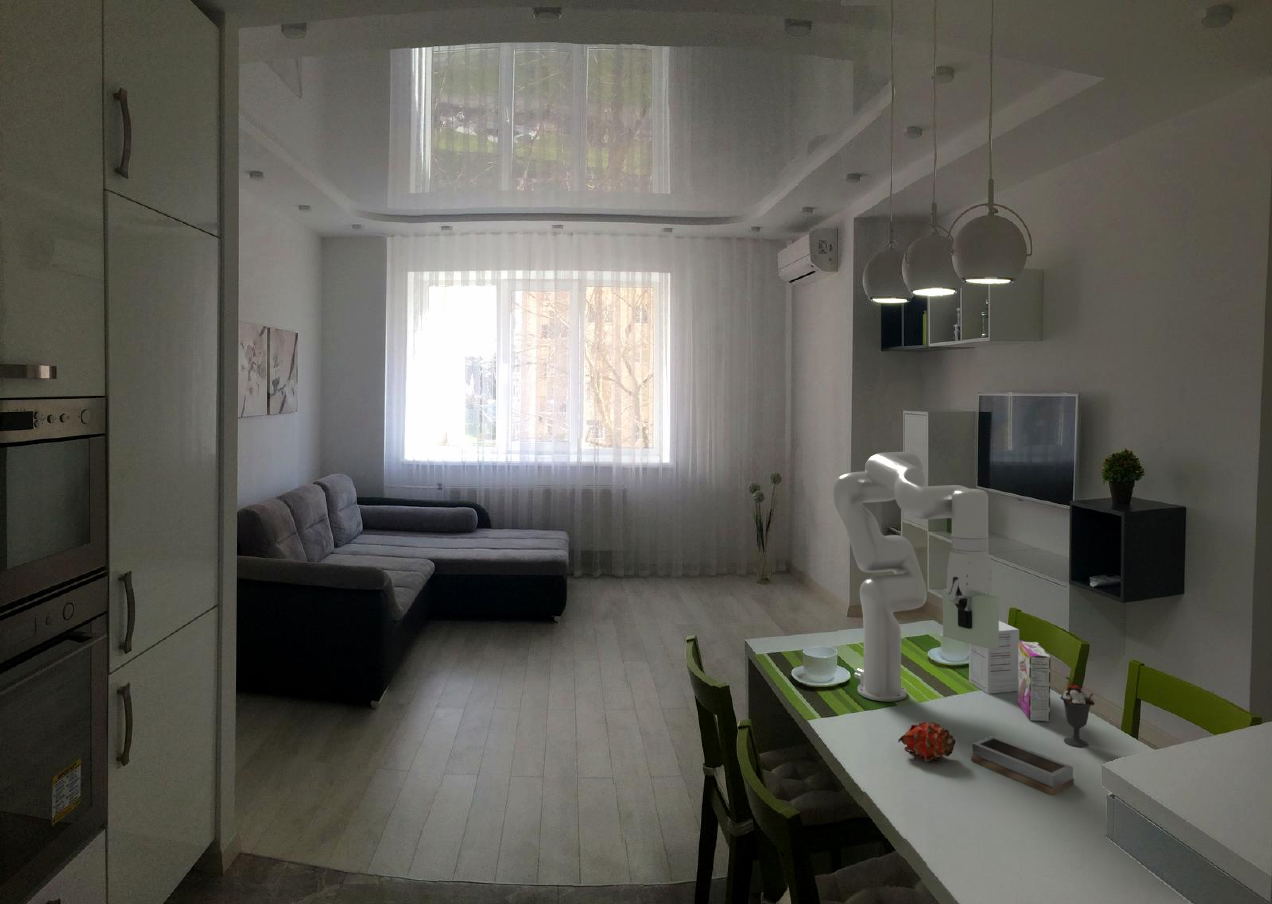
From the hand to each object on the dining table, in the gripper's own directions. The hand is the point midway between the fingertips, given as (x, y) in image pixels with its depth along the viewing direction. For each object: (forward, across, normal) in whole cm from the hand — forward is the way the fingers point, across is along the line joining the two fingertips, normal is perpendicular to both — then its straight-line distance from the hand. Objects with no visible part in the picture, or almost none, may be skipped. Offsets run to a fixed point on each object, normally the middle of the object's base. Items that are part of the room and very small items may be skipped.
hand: (970, 625), depth 179 cm
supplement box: (+27, -37, -19) cm, 50 cm away
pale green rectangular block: (+4, 0, 0) cm, 4 cm away
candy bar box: (+28, -29, -3) cm, 40 cm away
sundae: (+28, -21, +12) cm, 37 cm away
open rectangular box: (+28, +2, +13) cm, 31 cm away
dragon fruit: (+28, +12, -2) cm, 31 cm away
